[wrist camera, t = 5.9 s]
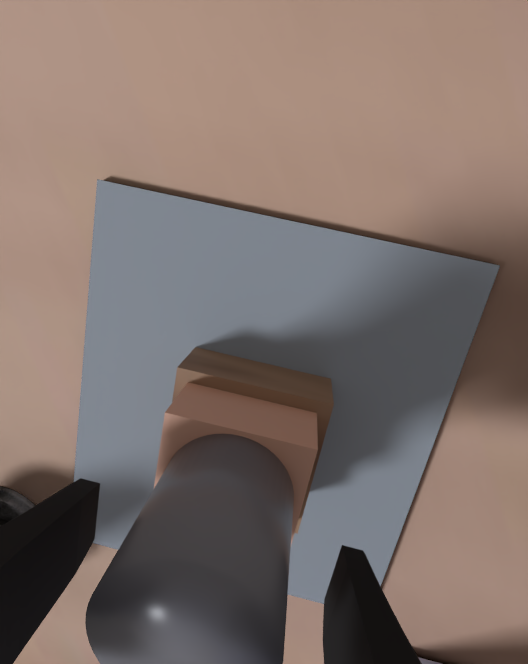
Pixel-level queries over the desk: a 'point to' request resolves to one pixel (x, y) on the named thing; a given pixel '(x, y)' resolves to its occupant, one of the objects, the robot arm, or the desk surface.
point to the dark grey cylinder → (202, 563)
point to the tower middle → (243, 431)
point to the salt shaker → (12, 505)
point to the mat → (273, 355)
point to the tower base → (261, 387)
